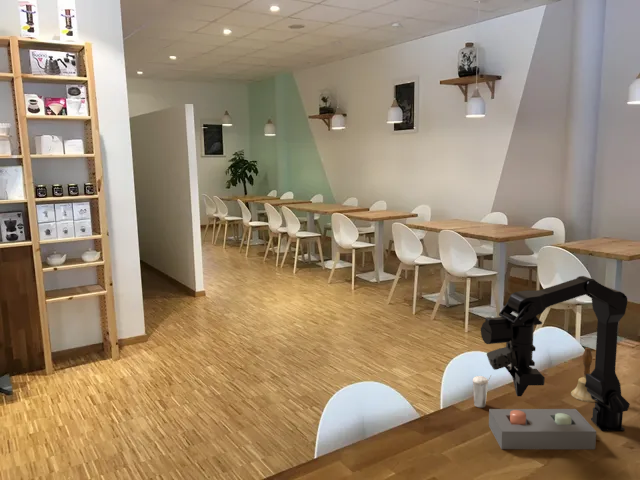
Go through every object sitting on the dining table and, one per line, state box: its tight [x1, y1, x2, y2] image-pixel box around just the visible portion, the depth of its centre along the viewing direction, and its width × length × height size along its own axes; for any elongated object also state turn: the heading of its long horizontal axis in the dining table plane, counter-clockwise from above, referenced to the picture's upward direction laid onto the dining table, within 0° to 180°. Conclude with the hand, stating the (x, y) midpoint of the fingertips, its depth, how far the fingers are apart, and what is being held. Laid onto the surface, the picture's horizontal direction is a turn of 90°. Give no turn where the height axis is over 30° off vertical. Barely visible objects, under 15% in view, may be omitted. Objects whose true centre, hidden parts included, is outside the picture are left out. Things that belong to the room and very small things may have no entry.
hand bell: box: [570, 347, 597, 403], centre depth 164 cm, size 8×8×16 cm
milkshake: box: [472, 375, 492, 409], centre depth 160 cm, size 4×5×10 cm
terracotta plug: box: [510, 410, 526, 425], centre depth 142 cm, size 4×4×5 cm
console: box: [488, 408, 597, 450], centre depth 143 cm, size 24×12×5 cm, turn 88°
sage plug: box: [555, 413, 571, 425], centre depth 142 cm, size 4×4×5 cm
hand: (518, 395), depth 141 cm, fingers closed
